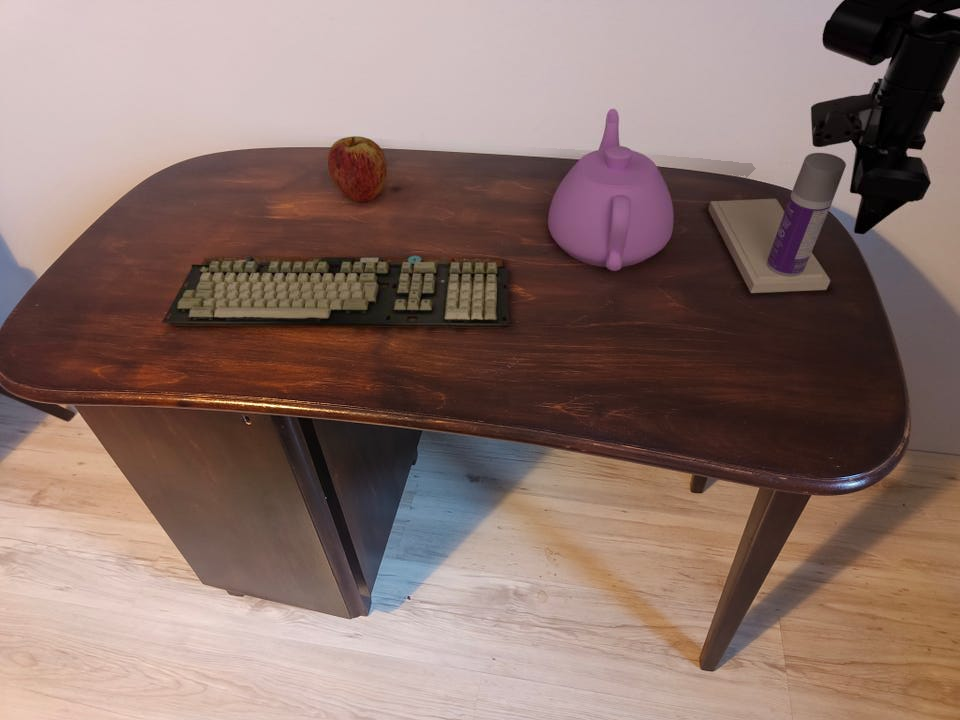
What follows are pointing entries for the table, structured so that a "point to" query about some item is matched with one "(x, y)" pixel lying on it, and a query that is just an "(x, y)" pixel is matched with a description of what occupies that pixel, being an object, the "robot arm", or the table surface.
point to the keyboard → (344, 292)
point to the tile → (760, 245)
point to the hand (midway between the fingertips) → (856, 212)
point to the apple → (357, 167)
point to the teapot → (612, 206)
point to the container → (805, 213)
